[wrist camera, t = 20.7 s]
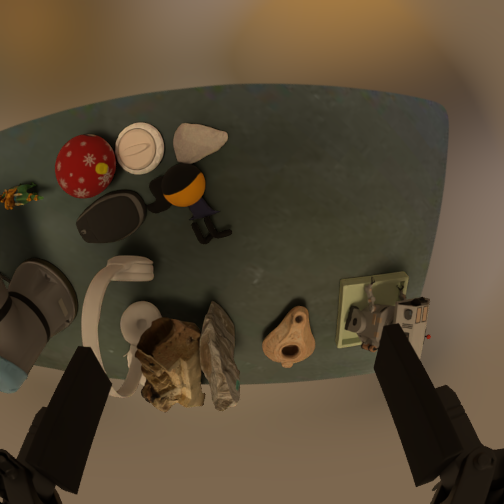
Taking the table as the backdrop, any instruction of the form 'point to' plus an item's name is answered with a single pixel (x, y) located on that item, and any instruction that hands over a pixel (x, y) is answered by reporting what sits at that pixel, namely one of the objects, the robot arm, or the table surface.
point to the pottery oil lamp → (290, 338)
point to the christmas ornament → (85, 166)
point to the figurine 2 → (389, 320)
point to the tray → (365, 300)
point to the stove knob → (139, 148)
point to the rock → (219, 357)
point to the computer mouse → (112, 217)
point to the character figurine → (185, 197)
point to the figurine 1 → (18, 196)
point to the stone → (196, 142)
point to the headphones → (132, 319)
